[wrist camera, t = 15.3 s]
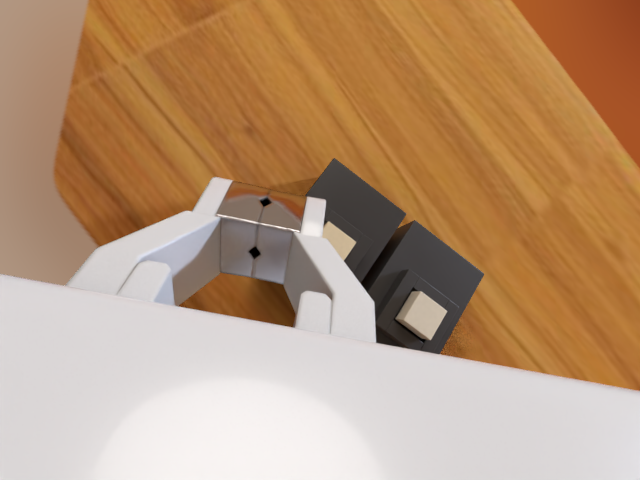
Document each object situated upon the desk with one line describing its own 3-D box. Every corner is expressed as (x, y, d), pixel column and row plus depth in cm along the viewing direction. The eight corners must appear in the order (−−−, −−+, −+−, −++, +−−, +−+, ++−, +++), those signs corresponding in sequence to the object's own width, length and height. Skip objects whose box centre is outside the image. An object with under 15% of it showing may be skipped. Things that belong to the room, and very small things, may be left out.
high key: (332, 272, 31) (337, 270, 30) (304, 251, 31) (308, 248, 30) (350, 245, 32) (356, 242, 31) (324, 225, 32) (328, 220, 30)
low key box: (401, 369, 38) (435, 383, 31) (334, 319, 37) (354, 323, 31) (455, 277, 41) (497, 272, 34) (393, 229, 41) (423, 215, 34)
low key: (421, 338, 32) (430, 340, 30) (394, 318, 32) (403, 319, 30) (437, 310, 33) (447, 311, 31) (411, 291, 33) (420, 290, 31)
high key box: (326, 313, 37) (344, 316, 31) (256, 262, 37) (259, 253, 30) (386, 224, 40) (415, 209, 34) (323, 175, 40) (339, 149, 33)
